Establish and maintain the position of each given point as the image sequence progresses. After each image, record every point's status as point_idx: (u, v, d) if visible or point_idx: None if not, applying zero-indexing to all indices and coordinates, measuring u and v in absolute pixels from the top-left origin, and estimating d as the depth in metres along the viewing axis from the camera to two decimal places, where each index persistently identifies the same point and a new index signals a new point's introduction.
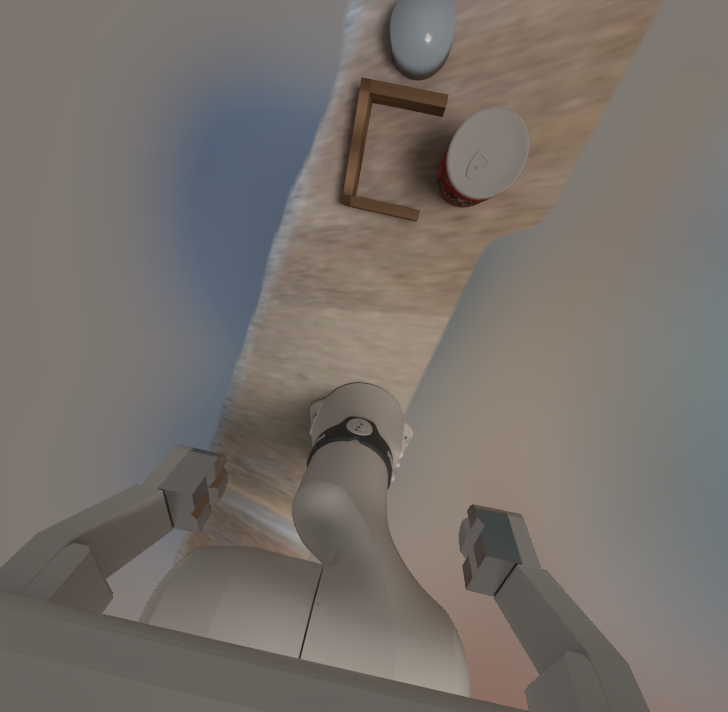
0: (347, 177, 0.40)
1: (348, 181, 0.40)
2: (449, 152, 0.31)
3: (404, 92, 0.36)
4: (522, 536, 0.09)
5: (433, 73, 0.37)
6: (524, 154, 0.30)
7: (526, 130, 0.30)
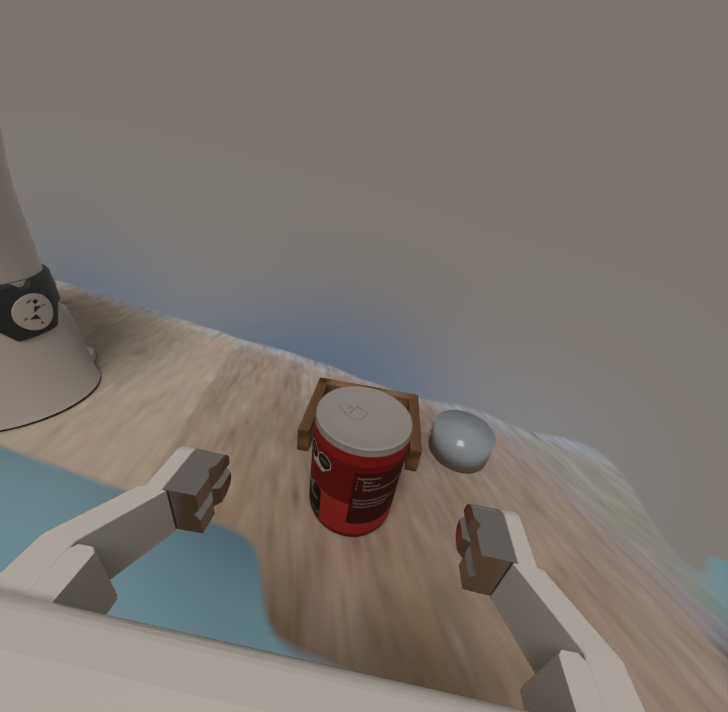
0: (342, 382, 0.42)
1: (339, 382, 0.42)
2: (363, 387, 0.28)
3: (414, 419, 0.38)
4: (518, 535, 0.09)
5: (437, 456, 0.36)
6: (367, 446, 0.22)
7: (394, 445, 0.23)
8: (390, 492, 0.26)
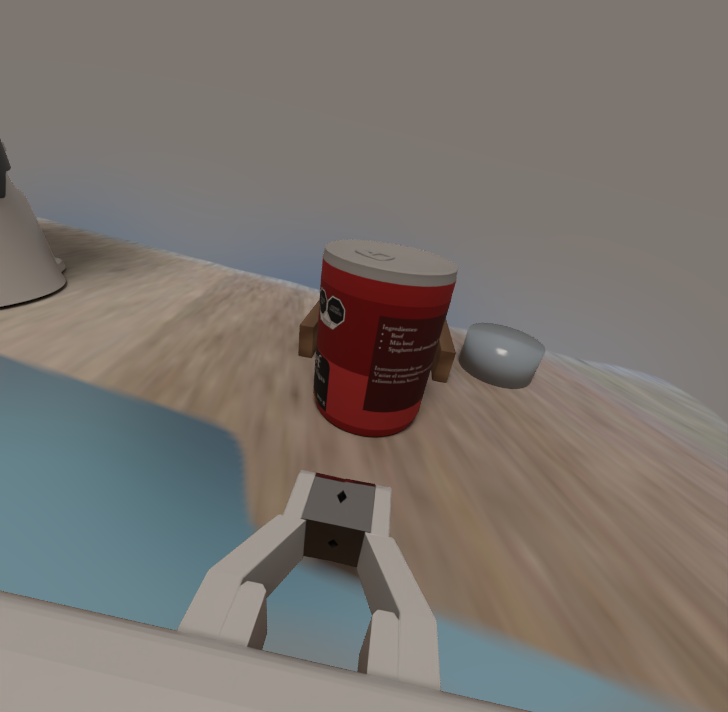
0: None
1: None
2: (386, 243, 0.21)
3: (443, 328, 0.31)
4: (382, 507, 0.09)
5: (472, 370, 0.29)
6: (399, 270, 0.15)
7: (437, 273, 0.16)
8: (424, 368, 0.19)
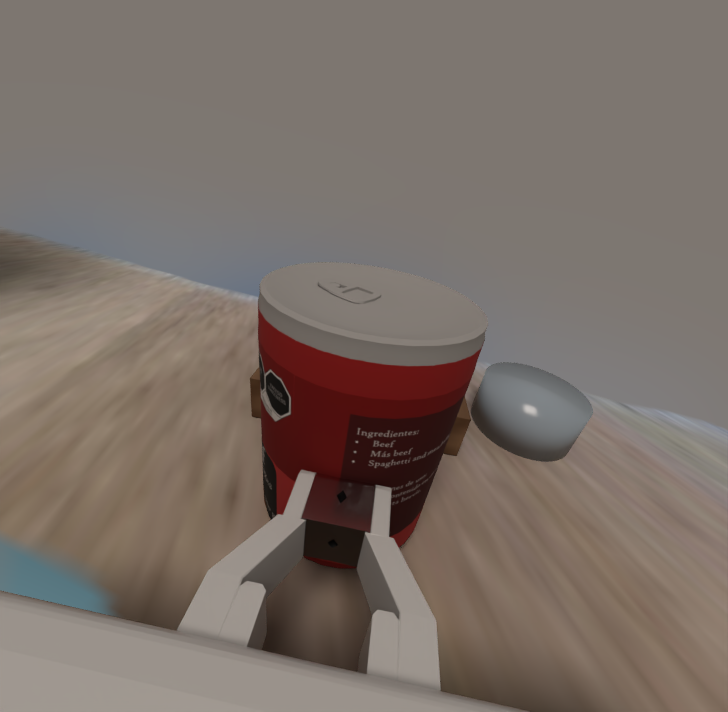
0: None
1: None
2: (370, 266, 0.14)
3: None
4: (382, 507, 0.09)
5: (490, 433, 0.22)
6: (386, 336, 0.08)
7: (456, 338, 0.08)
8: (430, 474, 0.12)
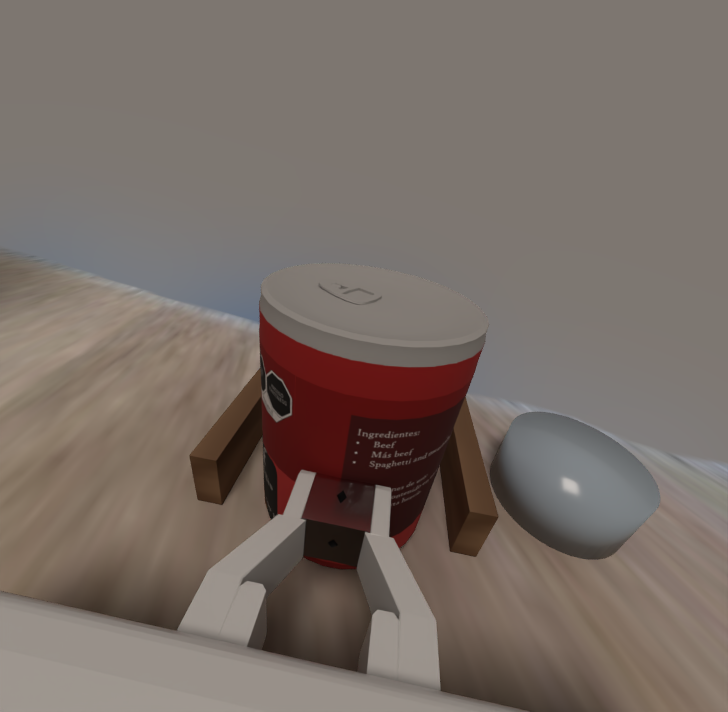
0: None
1: None
2: (371, 267, 0.14)
3: (465, 432, 0.17)
4: (382, 507, 0.09)
5: (519, 516, 0.16)
6: (387, 338, 0.08)
7: (456, 340, 0.08)
8: (430, 475, 0.12)
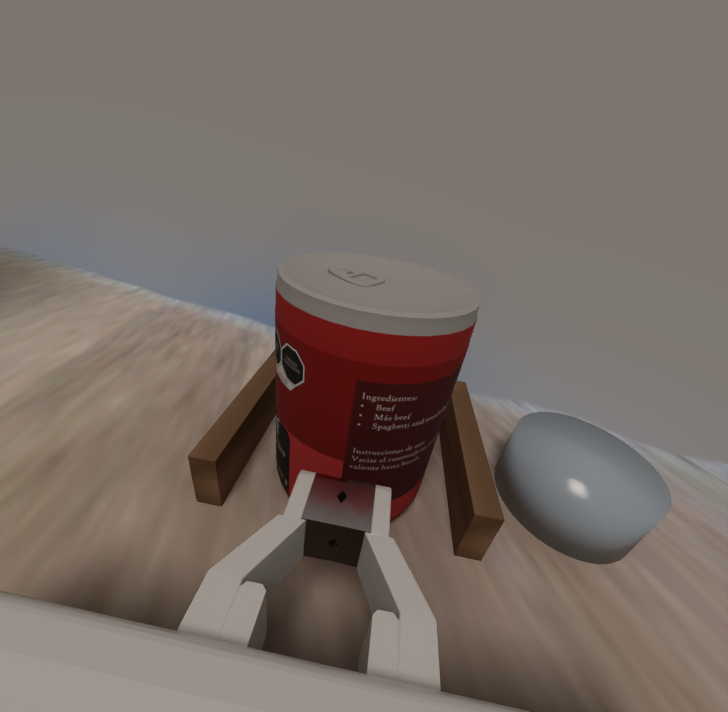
0: None
1: None
2: (376, 256, 0.15)
3: (469, 432, 0.17)
4: (382, 507, 0.09)
5: (525, 518, 0.16)
6: (388, 310, 0.09)
7: (449, 313, 0.10)
8: (428, 442, 0.13)
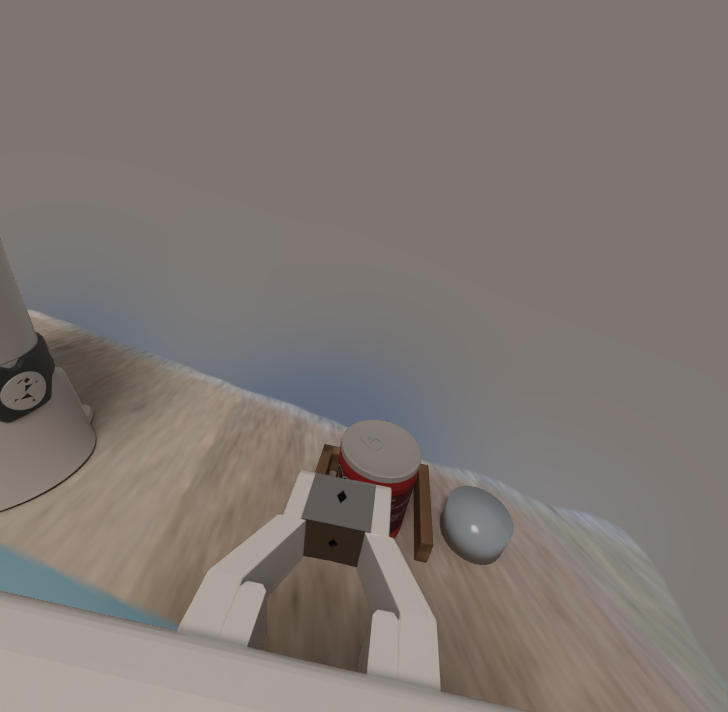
0: None
1: None
2: (380, 420, 0.34)
3: (425, 500, 0.35)
4: (382, 507, 0.09)
5: (449, 543, 0.34)
6: (385, 474, 0.27)
7: (406, 473, 0.28)
8: (402, 511, 0.31)
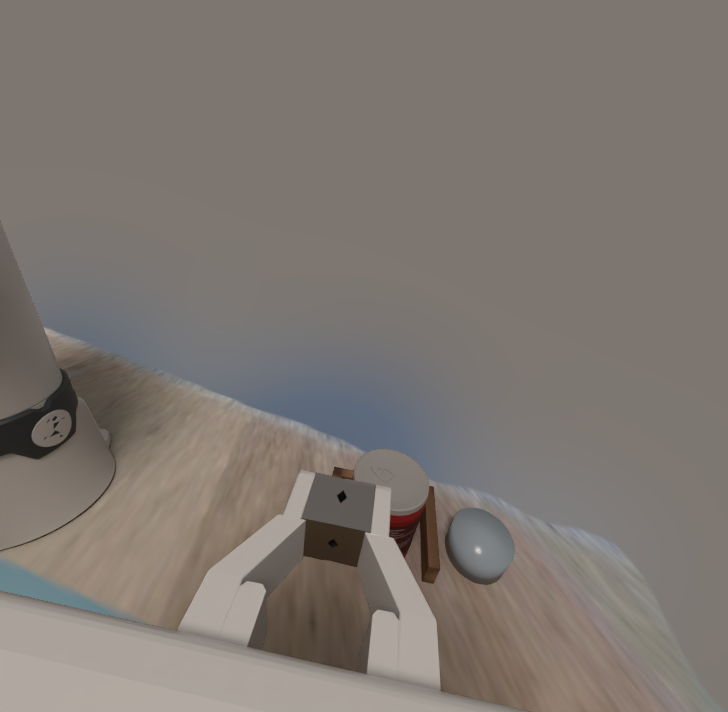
0: None
1: None
2: (389, 449, 0.35)
3: (431, 522, 0.37)
4: (382, 507, 0.09)
5: (454, 563, 0.36)
6: (395, 507, 0.29)
7: (415, 506, 0.30)
8: (410, 537, 0.33)
